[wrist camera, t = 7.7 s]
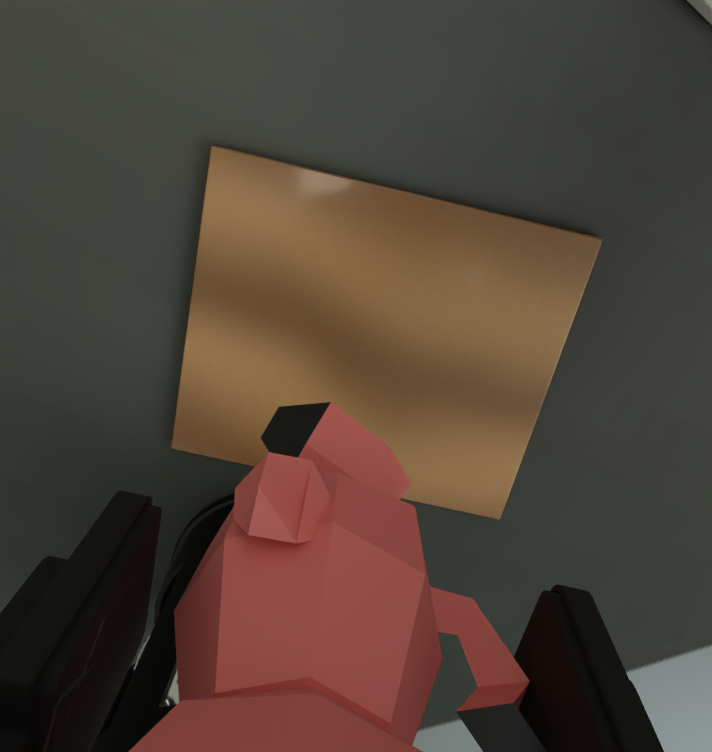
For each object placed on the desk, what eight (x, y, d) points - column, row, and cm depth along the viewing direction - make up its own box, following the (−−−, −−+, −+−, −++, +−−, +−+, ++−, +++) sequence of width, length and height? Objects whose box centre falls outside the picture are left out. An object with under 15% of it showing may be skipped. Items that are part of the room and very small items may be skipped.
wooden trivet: (214, 144, 22) (211, 145, 22) (598, 237, 23) (603, 239, 22) (174, 443, 27) (170, 449, 26) (498, 513, 27) (500, 520, 27)
